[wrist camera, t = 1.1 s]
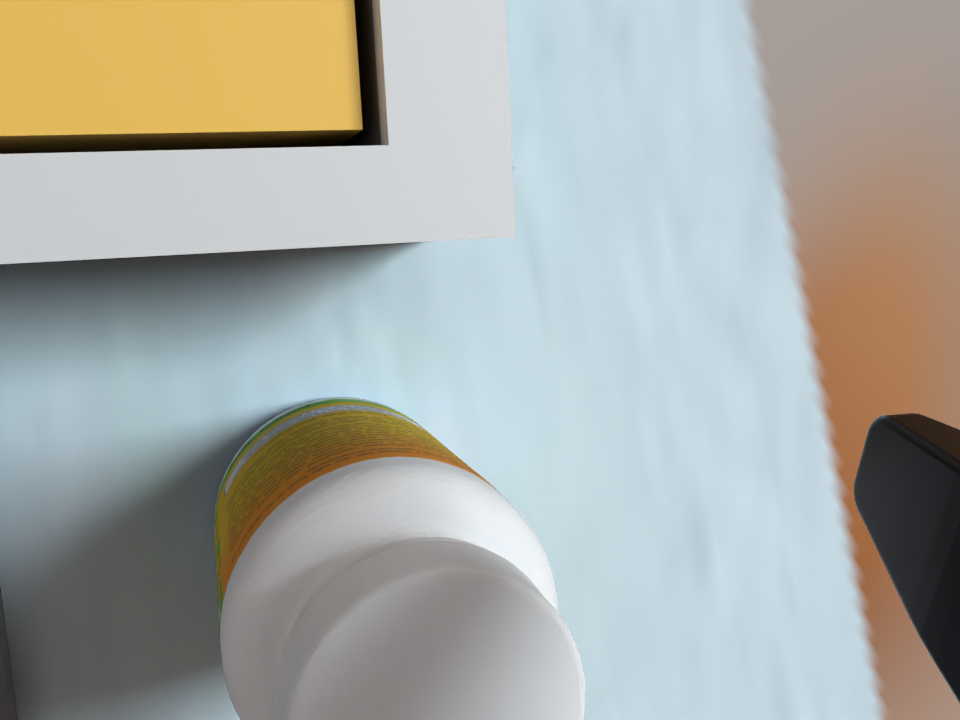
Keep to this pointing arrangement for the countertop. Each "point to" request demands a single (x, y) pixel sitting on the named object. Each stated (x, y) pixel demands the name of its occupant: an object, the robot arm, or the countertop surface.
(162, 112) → the button
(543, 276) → the countertop surface
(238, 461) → the supplement bottle
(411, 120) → the box
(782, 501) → the countertop surface
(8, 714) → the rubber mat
